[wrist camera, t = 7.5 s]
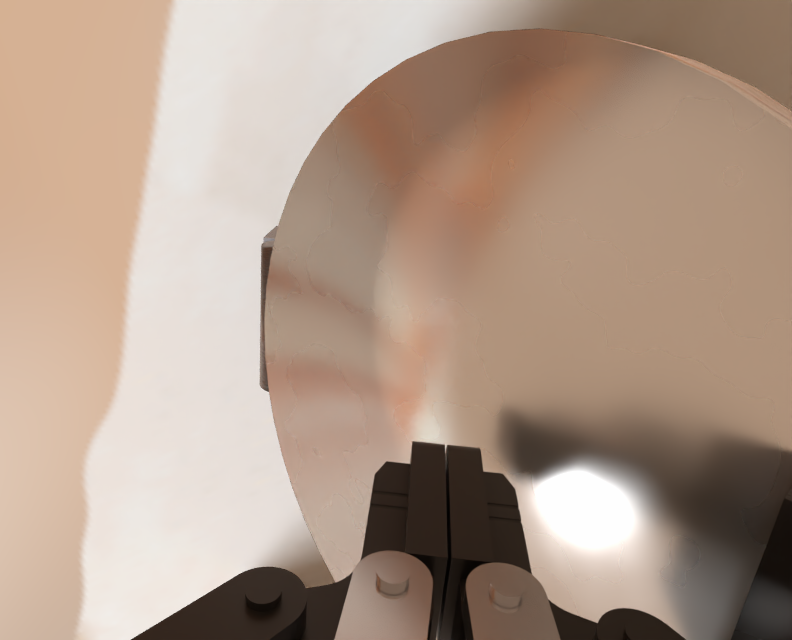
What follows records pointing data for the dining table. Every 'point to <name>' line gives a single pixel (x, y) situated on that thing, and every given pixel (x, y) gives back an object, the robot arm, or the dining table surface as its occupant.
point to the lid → (553, 317)
